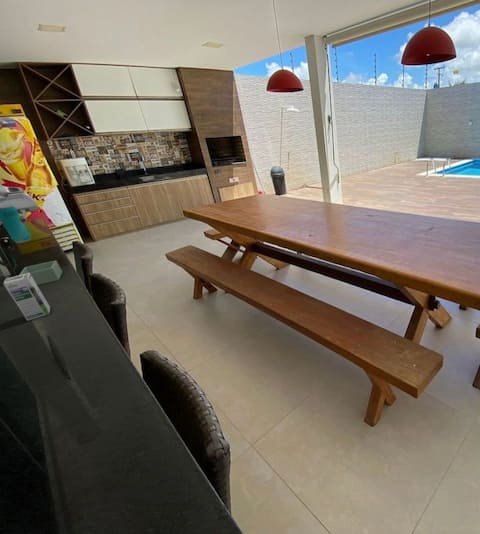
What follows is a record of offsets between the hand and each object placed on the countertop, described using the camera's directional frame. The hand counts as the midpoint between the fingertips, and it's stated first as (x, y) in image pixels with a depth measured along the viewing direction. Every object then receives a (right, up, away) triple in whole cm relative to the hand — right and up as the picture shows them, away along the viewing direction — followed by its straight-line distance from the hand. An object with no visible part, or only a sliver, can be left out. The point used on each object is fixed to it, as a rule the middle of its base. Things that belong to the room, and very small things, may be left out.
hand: (13, 222), depth 126 cm
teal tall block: (0, -8, +4) cm, 9 cm away
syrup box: (+33, -35, -21) cm, 52 cm away
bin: (+8, -24, +5) cm, 26 cm away
